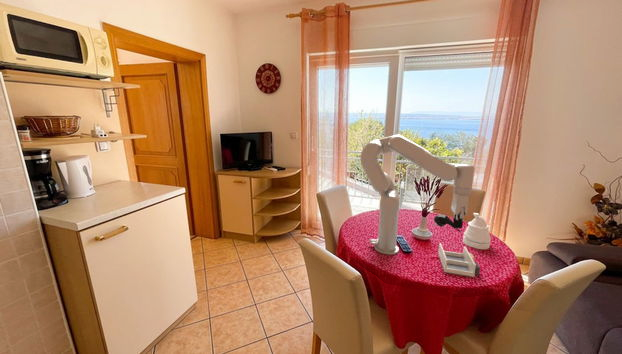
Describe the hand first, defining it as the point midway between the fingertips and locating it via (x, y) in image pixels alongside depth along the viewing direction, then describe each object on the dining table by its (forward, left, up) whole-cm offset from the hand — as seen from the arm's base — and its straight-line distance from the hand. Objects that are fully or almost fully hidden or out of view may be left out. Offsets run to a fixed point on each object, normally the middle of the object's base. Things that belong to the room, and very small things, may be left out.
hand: (457, 226), depth 121 cm
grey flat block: (+8, -9, -18) cm, 22 cm away
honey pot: (+16, +24, -18) cm, 34 cm away
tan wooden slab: (+8, 0, -18) cm, 20 cm away
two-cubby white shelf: (0, -4, -18) cm, 19 cm away
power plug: (0, +1, -5) cm, 5 cm away
